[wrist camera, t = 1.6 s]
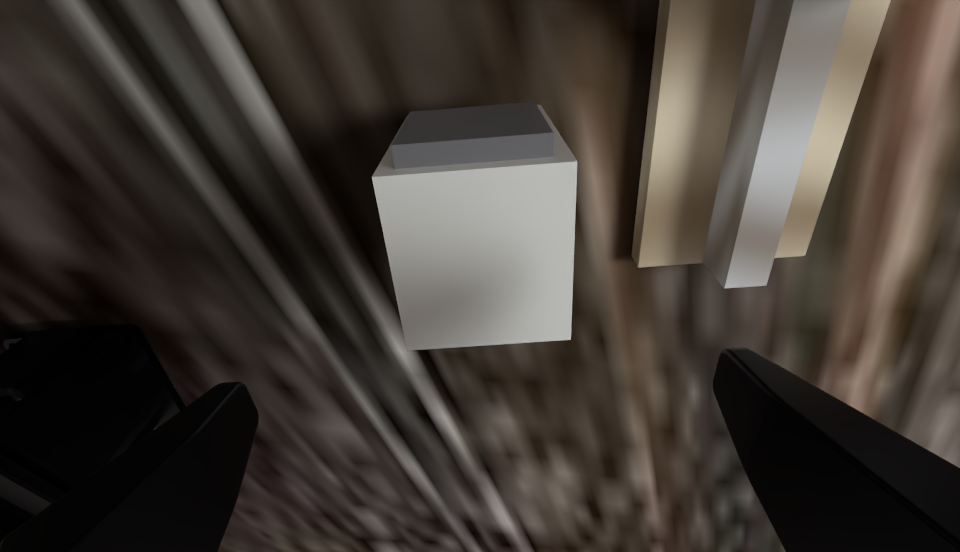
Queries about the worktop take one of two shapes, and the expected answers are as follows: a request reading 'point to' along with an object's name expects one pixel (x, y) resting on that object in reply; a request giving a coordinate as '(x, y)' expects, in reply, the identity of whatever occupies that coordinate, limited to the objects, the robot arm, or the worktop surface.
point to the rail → (704, 120)
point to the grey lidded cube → (479, 226)
